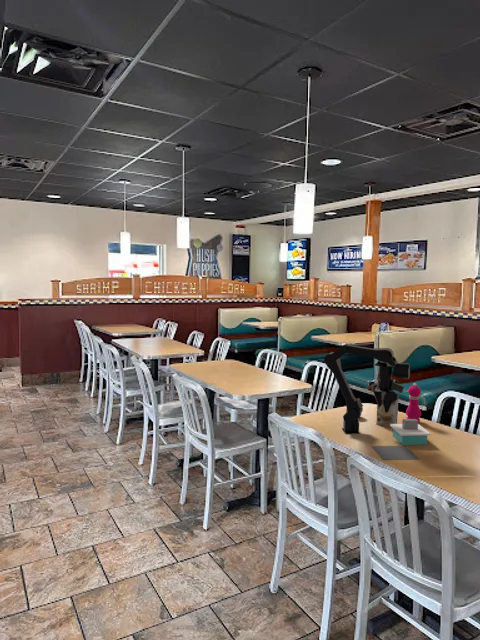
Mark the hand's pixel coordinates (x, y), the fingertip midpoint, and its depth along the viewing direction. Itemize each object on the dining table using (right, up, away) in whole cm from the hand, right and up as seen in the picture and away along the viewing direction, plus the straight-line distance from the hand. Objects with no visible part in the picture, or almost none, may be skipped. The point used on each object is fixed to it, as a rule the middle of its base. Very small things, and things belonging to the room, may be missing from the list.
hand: (383, 409), depth 207 cm
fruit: (-6, -10, +30) cm, 32 cm away
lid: (+10, -8, -5) cm, 14 cm away
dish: (+10, -13, -5) cm, 18 cm away
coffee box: (+8, -11, +18) cm, 23 cm away
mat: (-1, -15, -19) cm, 24 cm away
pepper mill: (+22, -11, +22) cm, 34 cm away
